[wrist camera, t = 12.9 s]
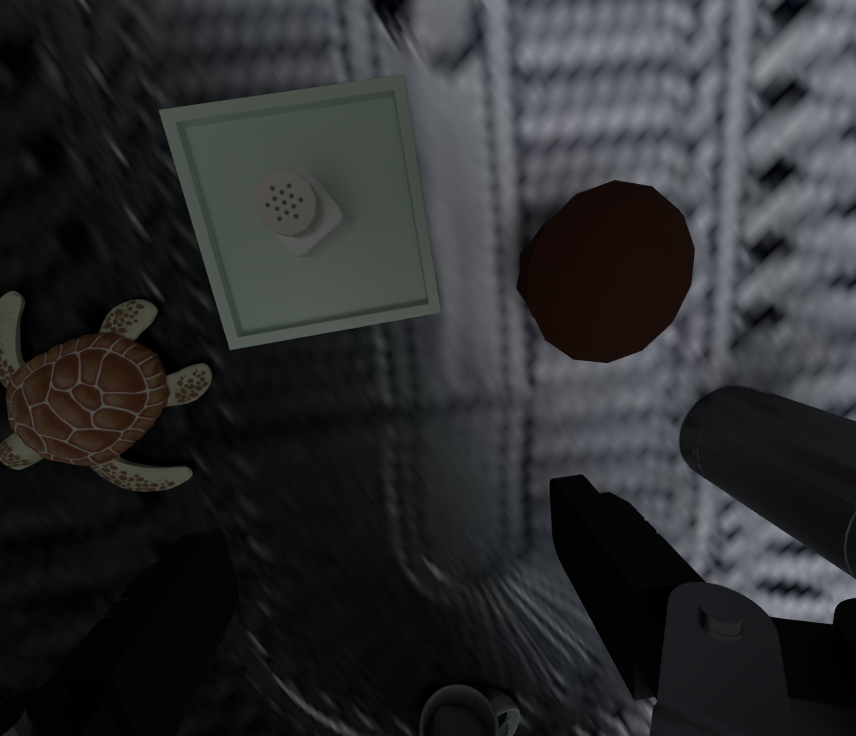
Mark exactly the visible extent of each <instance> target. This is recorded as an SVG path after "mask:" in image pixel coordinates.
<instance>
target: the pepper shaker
mask: <svg viewBox="0 0 856 736" xmlns="http://www.w3.org/2000/svg"><path fill="white" fill-rule="evenodd" d="M253 209H254V211H255V213H256V214H257V216H258V218H259V220H260V222H261V224H263V225H264V226H266V227H267V228H268V229H270V230H271V231H272V233H273V234H274V235H275V236H276V237H277V238H278V239H279V240H280V242H281V243H282V244H283V245H284V246H285V247H286V248H287V249H288V250H289V251H290V252H291V253H292V254H294V255H296V256H298V257H307V258H316V257H319V256H321V255H322V254H323V253H324V252H325V251H326V250H327V249H329V248H330V247H331V246H332V245H333V244H334V243H336V242H337V241H338V240H339V239H340V238H341V237H342V236H344V235H345V234H346V233H347V232H348V231H349V229H350V227H351V223H350V220H349V218H348V217H347V216H346V215H345V213H344V212H343V211H342V210H341V209H340V207H339V206H338V205H337V204H336V202H335V201H334V200H333V199H332V197H331V196H330V195H329V194H328V193H327V191H326V190H325V189H324V188H323V186H322V185H321V184H320V183H319V182H318V180H317V179H316V178H315V177H314V175H313V174H312V173H311V172H310V171H309V169H307V168H305V167H304V166H302V165H300V166H295V167H292V168H291V169H290V170H284V169H275V170H273V171H271V172H268V173H266V174H264V175H262V176H261V178H260V179H259V181H258V183H257V184H256V186H255V187H254V189H253Z"/></svg>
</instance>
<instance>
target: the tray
mask: <svg viewBox="0 0 856 736" xmlns="http://www.w3.org/2000/svg"><path fill="white" fill-rule="evenodd" d="M159 112H160V116H161V119H162V122H163V126H164V129H165V133H166V136H167V139H168V143H169V146H170V149H171V153H172V156H173V159H174V163H175V166H176V170H177V173H178V176H179V180H180V183H181V186H182V190H183V193H184V197H185V200H186V203H187V207H188V210H189V213H190V217H191V220H192V223H193V227H194V230H195V234H196V237H197V240H198V244H199V247H200V250H201V254H202V257H203V261H204V264H205V267H206V271H207V274H208V277H209V281H210V284H211V287H212V291H213V294H214V298H215V301H216V304H217V308H218V311H219V314H220V318H221V321H222V325H223V328H224V331H225V335H226V338H227V341H228V345H229V348H230V350H232V349H238V348H244V347H249V346H255V345H260V344H266V343H272V342H277V341H283V340H289V339H294V338H300V337H306V336H311V335H317V334H323V333H328V332H334V331H340V330H345V329H351V328H356V327H362V326H368V325H373V324H379V323H385V322H390V321H396V320H402V319H407V318H413V317H419V316H424V315H430V314H436V313H441V310H440V304H439V297H438V291H437V284H436V278H435V272H434V265H433V259H432V252H431V246H430V239H429V233H428V227H427V220H426V214H425V207H424V201H423V194H422V188H421V182H420V175H419V169H418V162H417V156H416V149H415V143H414V137H413V130H412V124H411V117H410V111H409V104H408V98H407V92H406V85H405V79H404V75H397V76H390V77H383V78H376V79H369V80H362V81H355V82H348V83H341V84H335V85H328V86H321V87H314V88H307V89H300V90H293V91H286V92H279V93H273V94H266V95H259V96H252V97H245V98H238V99H231V100H224V101H217V102H211V103H204V104H197V105H190V106H183V107H176V108H169V109H162V110H159ZM300 165H302V166H304V167H305V168H307V169H309V171H310V172H311V173H312V174H313V175H314V177H315V178H316V179H317V180H318V182H319V183H320V184H321V185H322V186H323V188H324V189H325V190H326V191H327V193H328V194H329V195H330V196H331V197H332V199H333V200H334V201H335V202H336V204H337V205H338V206H339V207H340V209H341V210H342V211H343V212H344V213H345V215H346V216H347V217H348V218H349V220H350V223H351V227H350V229H349V231H348V232H347V233H346V234H345V235H344V236H342V237H341V238H340V239H339V240H338V241H337V242H336V243H334V244H333V245H332V246H331V247H330V248H329V249H327V250H326V251H325V252H324V253H323V254H322V255H321V256H319V257H316V258H307V257H298V256H296V255H294V254H292V253H291V252H290V251H289V250H288V249H287V248H286V247H285V246H284V245H283V244H282V243H281V242H280V240H279V239H278V238H277V237H276V236H275V235H274V234H273V233H272V231H271V230H270V229H268V228H267V227H266V226H264V225H263V224H261V222H260V220H259V218H258V216H257V214H256V213H255V211H254V209H253V189H254V187H255V186H256V184H257V183H258V181H259V179H260V178H261V176H262V175H264V174H266V173H268V172H271V171H273V170H275V169H284V170H290V169H291V168H292V167H295V166H300Z"/></svg>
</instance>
